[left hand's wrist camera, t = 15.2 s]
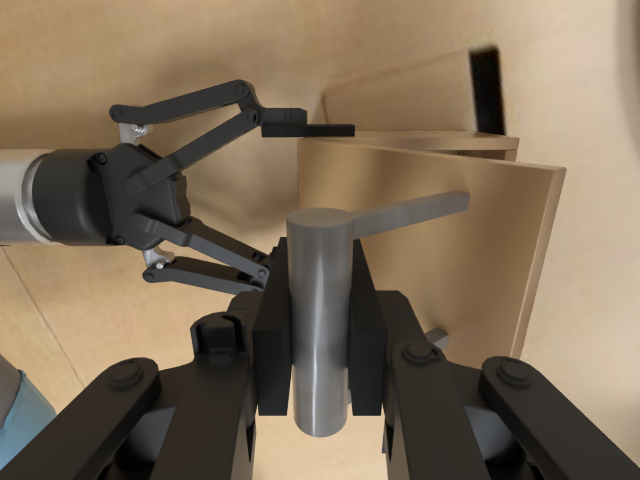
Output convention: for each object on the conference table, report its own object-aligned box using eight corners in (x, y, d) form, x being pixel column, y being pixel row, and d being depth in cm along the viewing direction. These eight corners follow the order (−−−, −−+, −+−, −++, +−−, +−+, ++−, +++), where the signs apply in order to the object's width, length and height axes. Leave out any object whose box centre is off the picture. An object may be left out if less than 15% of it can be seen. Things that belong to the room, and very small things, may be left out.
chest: (466, 130, 31) (520, 137, 23) (452, 228, 35) (495, 266, 26) (308, 130, 31) (303, 138, 23) (309, 228, 35) (305, 266, 26)
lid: (567, 167, 11) (368, 207, 6) (510, 397, 14) (352, 529, 10) (308, 138, 23) (174, 145, 18) (310, 268, 26) (196, 300, 21)
